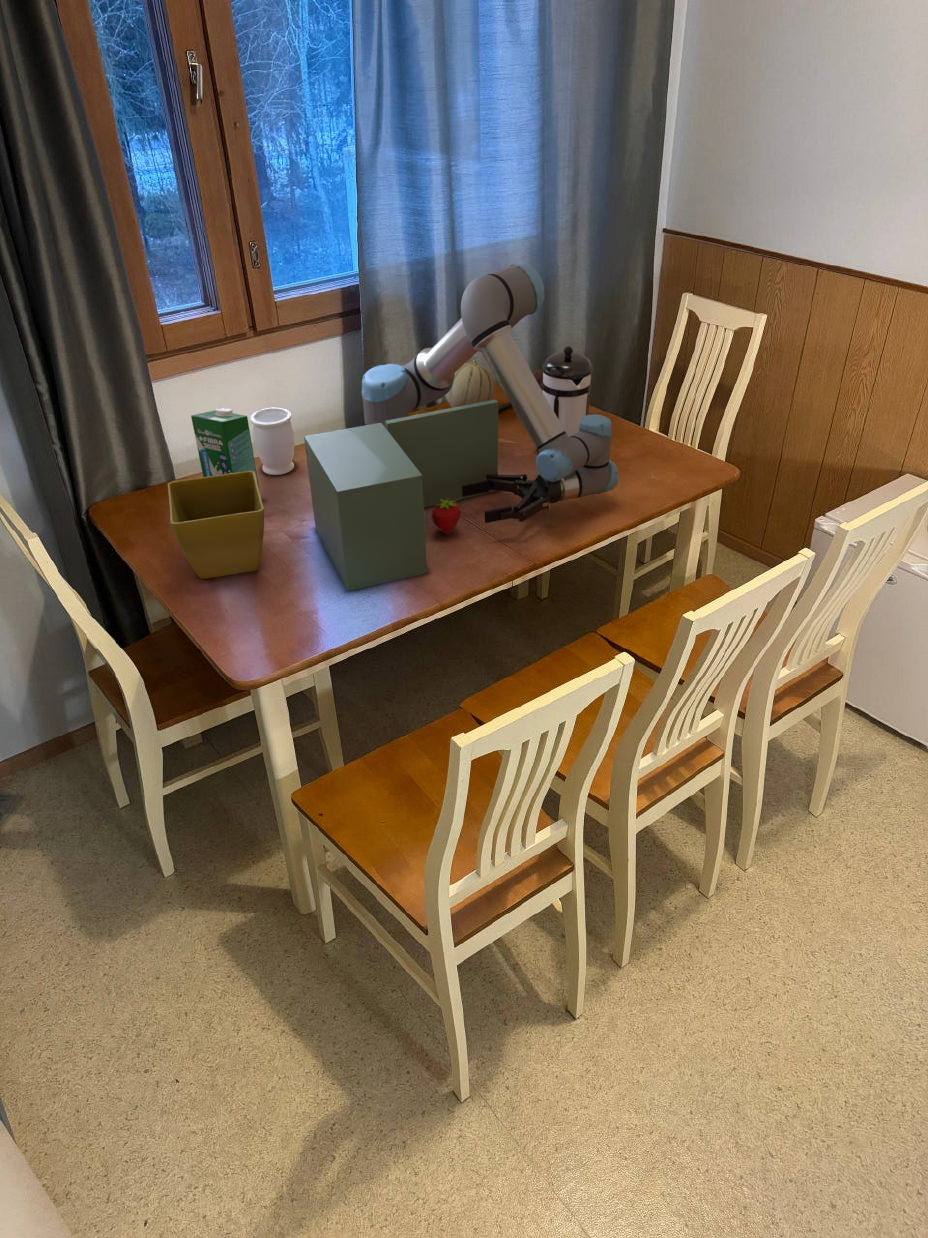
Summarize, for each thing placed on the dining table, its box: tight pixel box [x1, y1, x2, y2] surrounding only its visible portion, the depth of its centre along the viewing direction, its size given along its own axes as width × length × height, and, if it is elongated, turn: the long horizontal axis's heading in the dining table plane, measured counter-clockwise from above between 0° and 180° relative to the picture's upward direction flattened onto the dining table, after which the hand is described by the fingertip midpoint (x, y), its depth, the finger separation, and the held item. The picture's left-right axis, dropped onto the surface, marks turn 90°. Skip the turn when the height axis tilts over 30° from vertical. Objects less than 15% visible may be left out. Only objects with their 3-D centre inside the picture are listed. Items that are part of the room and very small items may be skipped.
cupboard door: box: [385, 398, 499, 509], centre depth 225 cm, size 8×28×24 cm, turn 114°
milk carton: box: [190, 407, 261, 493], centre depth 222 cm, size 9×9×25 cm
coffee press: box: [536, 346, 594, 453], centre depth 241 cm, size 17×16×30 cm
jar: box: [249, 407, 295, 476], centre depth 241 cm, size 11×10×15 cm
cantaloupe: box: [444, 358, 496, 408], centre depth 269 cm, size 15×15×15 cm
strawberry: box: [431, 497, 462, 535], centre depth 214 cm, size 6×8×10 cm
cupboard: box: [303, 423, 428, 592], centre depth 204 cm, size 18×28×24 cm, turn 21°
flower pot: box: [167, 471, 265, 580], centre depth 204 cm, size 19×19×17 cm
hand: (473, 503), depth 215 cm, fingers open, 13 cm apart
